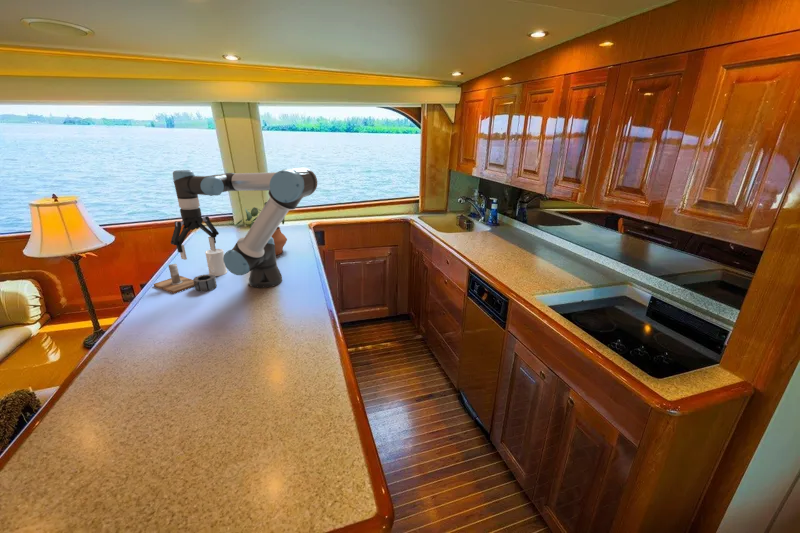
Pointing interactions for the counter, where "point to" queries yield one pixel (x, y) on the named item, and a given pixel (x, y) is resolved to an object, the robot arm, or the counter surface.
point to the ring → (205, 283)
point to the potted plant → (277, 235)
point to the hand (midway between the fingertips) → (199, 254)
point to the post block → (175, 281)
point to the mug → (216, 262)
